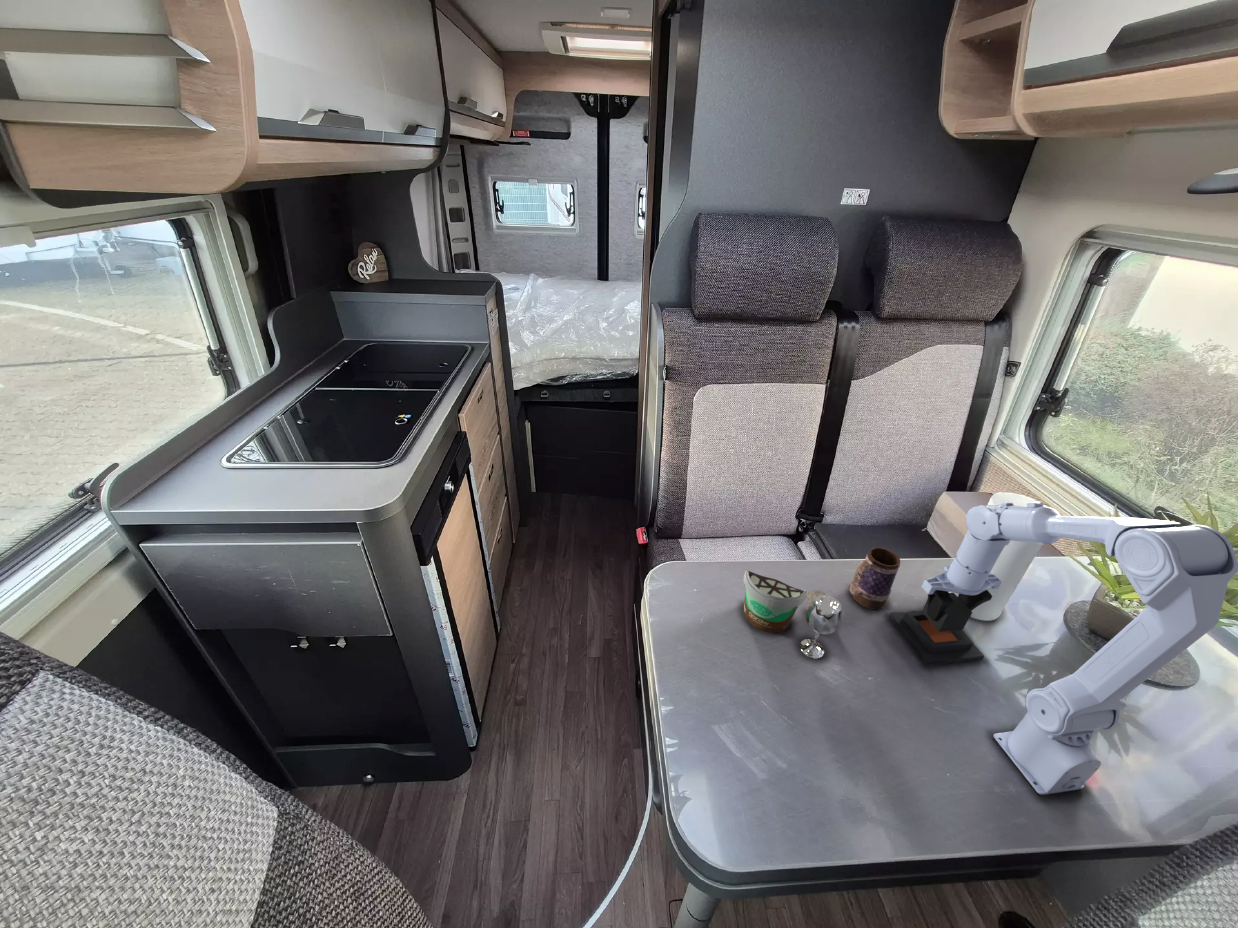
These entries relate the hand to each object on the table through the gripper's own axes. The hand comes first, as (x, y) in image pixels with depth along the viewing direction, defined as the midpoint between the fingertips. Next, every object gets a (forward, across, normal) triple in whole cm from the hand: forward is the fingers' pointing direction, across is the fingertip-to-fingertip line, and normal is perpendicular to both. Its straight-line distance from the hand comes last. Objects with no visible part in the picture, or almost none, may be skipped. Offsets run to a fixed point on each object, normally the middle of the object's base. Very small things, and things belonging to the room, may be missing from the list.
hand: (945, 615), depth 101 cm
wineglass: (+6, +26, 0) cm, 27 cm away
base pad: (+6, 0, 0) cm, 6 cm away
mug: (+6, +9, -11) cm, 16 cm away
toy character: (+6, +21, -8) cm, 23 cm away
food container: (+6, +33, -7) cm, 34 cm away
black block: (+1, 0, 0) cm, 1 cm away
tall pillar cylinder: (+6, -15, -8) cm, 18 cm away
